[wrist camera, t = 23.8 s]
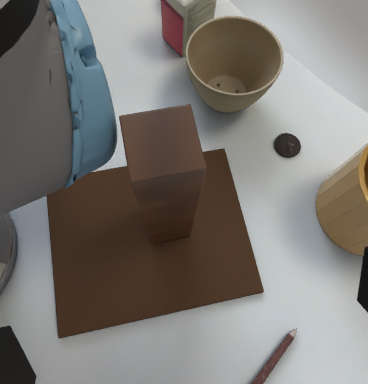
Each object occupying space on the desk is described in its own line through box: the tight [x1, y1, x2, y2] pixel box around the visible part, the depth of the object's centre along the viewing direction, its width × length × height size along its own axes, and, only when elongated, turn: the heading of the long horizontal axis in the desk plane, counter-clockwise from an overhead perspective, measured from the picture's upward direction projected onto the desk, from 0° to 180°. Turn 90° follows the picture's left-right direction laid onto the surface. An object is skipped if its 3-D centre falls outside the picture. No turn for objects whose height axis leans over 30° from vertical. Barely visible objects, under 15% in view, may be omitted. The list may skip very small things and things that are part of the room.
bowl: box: [186, 16, 283, 113], centre depth 37 cm, size 10×10×7 cm
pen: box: [251, 328, 297, 384], centre depth 30 cm, size 11×1×1 cm, turn 138°
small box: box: [161, 0, 216, 57], centre depth 39 cm, size 5×4×8 cm
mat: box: [47, 149, 264, 338], centre depth 34 cm, size 20×16×1 cm
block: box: [119, 104, 206, 244], centre depth 26 cm, size 4×4×18 cm
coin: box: [275, 133, 301, 157], centre depth 38 cm, size 3×1×3 cm
